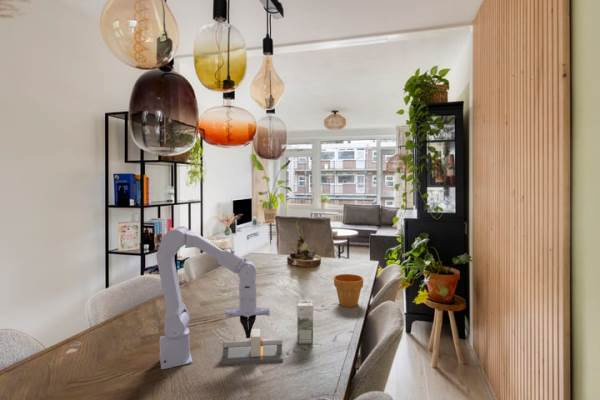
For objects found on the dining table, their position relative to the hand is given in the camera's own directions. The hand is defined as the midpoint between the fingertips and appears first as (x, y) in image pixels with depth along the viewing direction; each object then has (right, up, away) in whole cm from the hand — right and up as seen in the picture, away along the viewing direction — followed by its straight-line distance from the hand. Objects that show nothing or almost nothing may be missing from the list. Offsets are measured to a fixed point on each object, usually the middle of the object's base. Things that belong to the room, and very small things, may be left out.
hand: (248, 336), depth 111 cm
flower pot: (+41, -5, +50) cm, 65 cm away
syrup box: (+19, -6, +12) cm, 24 cm away
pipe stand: (+1, -7, 0) cm, 7 cm away
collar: (+3, -5, 0) cm, 6 cm away
